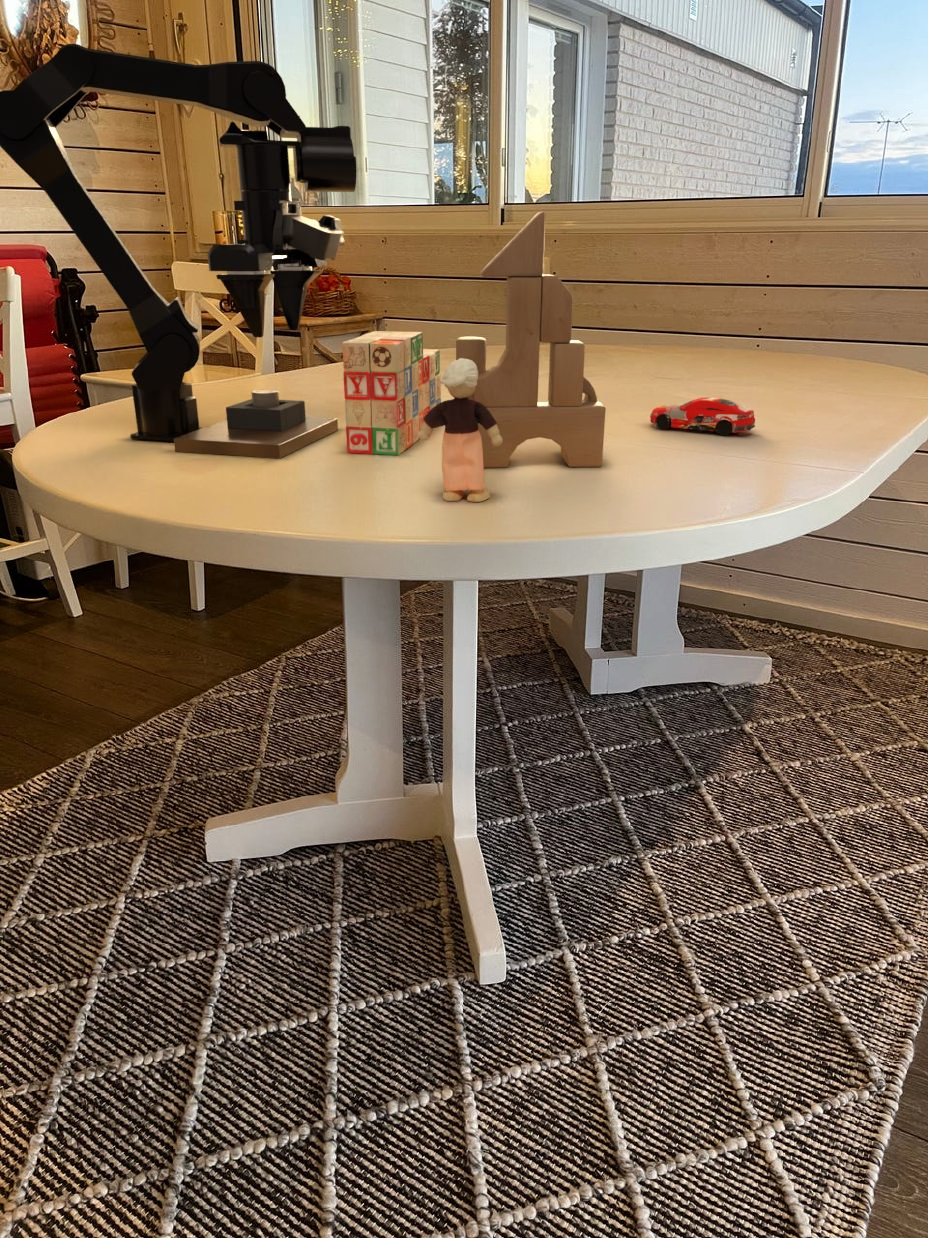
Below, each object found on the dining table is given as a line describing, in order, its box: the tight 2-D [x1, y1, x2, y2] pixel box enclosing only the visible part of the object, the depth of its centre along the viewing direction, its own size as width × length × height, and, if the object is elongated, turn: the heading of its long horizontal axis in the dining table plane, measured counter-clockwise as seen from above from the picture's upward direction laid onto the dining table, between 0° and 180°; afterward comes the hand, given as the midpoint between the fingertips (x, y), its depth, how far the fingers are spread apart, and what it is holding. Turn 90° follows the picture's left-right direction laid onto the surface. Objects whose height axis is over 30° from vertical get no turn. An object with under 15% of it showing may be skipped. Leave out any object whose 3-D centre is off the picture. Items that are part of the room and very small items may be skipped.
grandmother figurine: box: [418, 358, 503, 503], centre depth 84 cm, size 8×4×13 cm, turn 91°
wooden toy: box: [455, 211, 606, 469], centre depth 96 cm, size 16×7×25 cm, turn 93°
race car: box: [649, 396, 756, 437], centre depth 117 cm, size 13×5×4 cm, turn 60°
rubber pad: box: [225, 398, 306, 432], centre depth 111 cm, size 7×7×2 cm
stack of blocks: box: [341, 330, 442, 456], centre depth 110 cm, size 21×6×12 cm, turn 168°
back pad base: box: [173, 388, 339, 459], centre depth 109 cm, size 13×17×6 cm
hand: (276, 333), depth 111 cm, fingers open, 9 cm apart
